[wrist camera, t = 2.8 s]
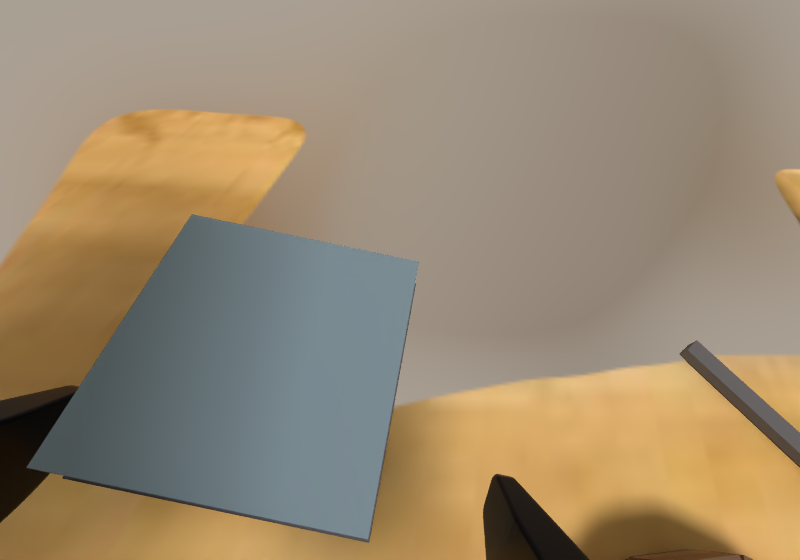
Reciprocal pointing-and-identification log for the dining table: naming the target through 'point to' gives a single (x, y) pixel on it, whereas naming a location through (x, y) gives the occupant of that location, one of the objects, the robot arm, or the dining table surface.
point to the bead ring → (690, 556)
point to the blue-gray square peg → (247, 381)
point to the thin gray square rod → (744, 399)
